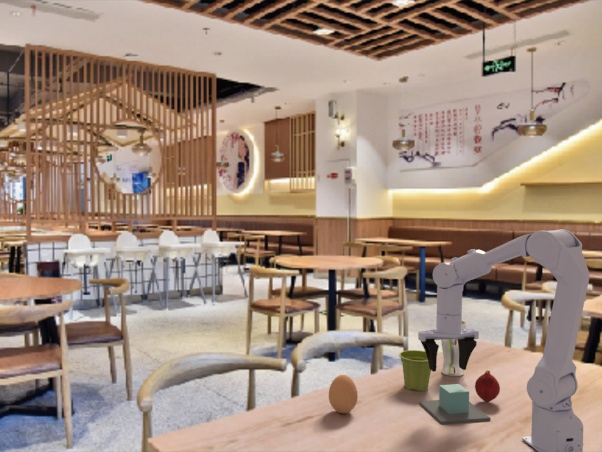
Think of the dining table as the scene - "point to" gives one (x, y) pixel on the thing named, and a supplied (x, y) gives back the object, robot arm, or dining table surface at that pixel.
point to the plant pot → (415, 369)
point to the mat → (447, 418)
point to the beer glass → (451, 356)
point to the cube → (454, 398)
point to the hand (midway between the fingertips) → (447, 369)
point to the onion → (487, 387)
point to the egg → (343, 394)
